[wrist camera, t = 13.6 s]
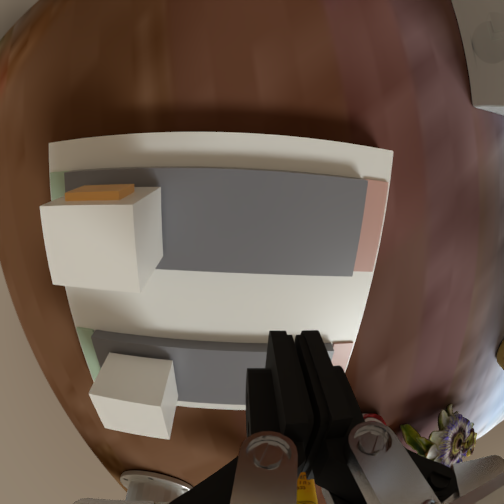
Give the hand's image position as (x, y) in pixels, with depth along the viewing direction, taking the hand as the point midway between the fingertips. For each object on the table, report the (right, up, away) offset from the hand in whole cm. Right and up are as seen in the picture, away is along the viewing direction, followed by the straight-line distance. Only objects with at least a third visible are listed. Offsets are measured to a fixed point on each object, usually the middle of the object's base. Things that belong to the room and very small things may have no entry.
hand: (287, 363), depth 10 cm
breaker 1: (-9, +6, +6) cm, 12 cm away
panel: (-4, +1, +11) cm, 12 cm away
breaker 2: (-9, -5, +10) cm, 15 cm away
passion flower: (+23, -20, +21) cm, 38 cm away
